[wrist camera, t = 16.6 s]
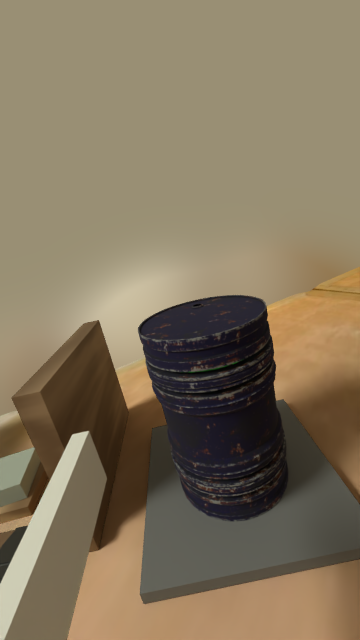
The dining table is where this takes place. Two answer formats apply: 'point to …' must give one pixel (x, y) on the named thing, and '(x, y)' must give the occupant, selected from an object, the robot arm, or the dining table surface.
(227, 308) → the dark blue cylinder
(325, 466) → the charcoal mat
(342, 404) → the dining table surface
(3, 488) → the grey offcut plank
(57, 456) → the wooden bookend pair
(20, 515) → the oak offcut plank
